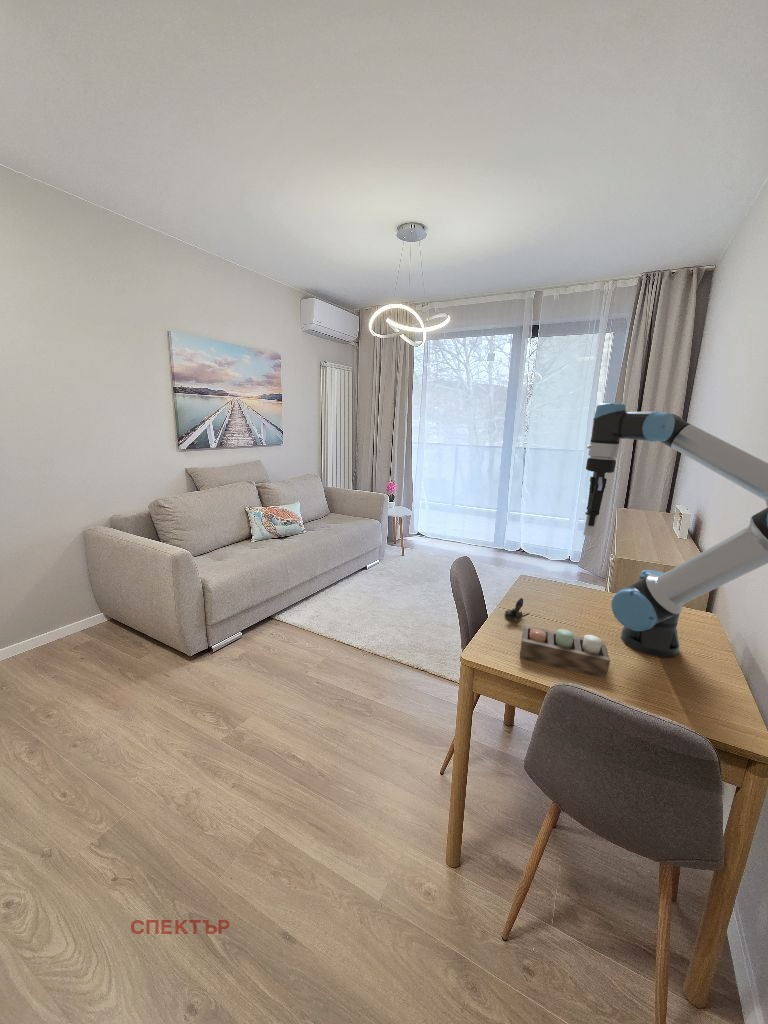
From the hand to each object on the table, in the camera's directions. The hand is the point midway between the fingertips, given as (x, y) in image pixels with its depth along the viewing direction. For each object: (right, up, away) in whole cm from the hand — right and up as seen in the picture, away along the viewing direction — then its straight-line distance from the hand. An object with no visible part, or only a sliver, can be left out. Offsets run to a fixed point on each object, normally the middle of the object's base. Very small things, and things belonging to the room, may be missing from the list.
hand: (588, 535), depth 126 cm
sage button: (-12, -32, -9) cm, 35 cm away
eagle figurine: (-18, -29, +15) cm, 37 cm away
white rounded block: (-5, -33, -12) cm, 35 cm away
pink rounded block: (-19, -32, -7) cm, 38 cm away
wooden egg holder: (-12, -35, -8) cm, 38 cm away
